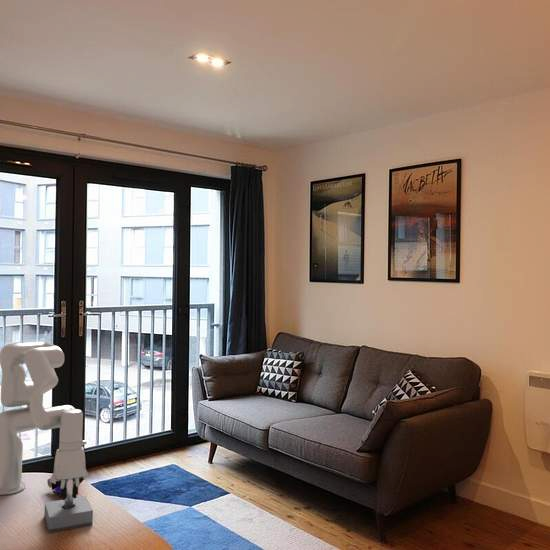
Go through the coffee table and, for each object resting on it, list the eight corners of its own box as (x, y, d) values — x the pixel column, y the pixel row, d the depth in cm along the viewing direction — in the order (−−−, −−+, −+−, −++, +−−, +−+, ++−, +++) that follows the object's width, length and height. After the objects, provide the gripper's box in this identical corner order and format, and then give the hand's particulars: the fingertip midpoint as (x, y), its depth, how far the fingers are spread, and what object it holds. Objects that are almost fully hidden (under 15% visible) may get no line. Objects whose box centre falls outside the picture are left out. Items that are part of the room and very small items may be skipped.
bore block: (44, 516, 195) (44, 502, 195) (85, 509, 202) (85, 496, 202) (49, 532, 183) (49, 517, 183) (92, 524, 189) (92, 510, 189)
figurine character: (45, 495, 218) (66, 501, 208) (45, 475, 218) (66, 480, 209) (61, 490, 223) (82, 496, 214) (61, 471, 224) (82, 476, 214)
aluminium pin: (63, 505, 193) (64, 474, 193) (72, 504, 194) (73, 473, 194) (64, 508, 190) (65, 477, 190) (73, 507, 191) (74, 475, 192)
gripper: (92, 440, 200) (91, 490, 199) (44, 445, 192) (42, 498, 192) (96, 445, 193) (95, 497, 193) (47, 451, 185) (45, 505, 185)
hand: (69, 497), depth 192 cm, fingers closed on aluminium pin, 3 cm apart
